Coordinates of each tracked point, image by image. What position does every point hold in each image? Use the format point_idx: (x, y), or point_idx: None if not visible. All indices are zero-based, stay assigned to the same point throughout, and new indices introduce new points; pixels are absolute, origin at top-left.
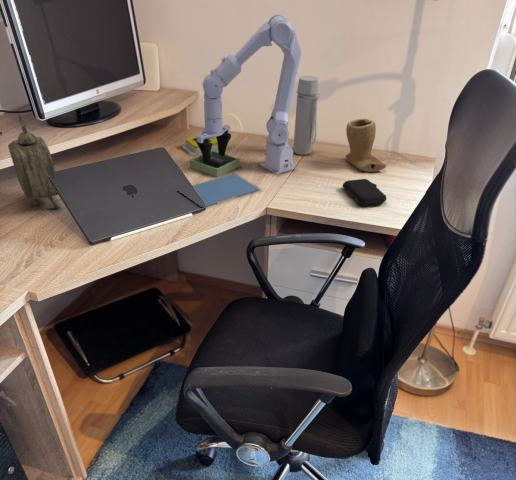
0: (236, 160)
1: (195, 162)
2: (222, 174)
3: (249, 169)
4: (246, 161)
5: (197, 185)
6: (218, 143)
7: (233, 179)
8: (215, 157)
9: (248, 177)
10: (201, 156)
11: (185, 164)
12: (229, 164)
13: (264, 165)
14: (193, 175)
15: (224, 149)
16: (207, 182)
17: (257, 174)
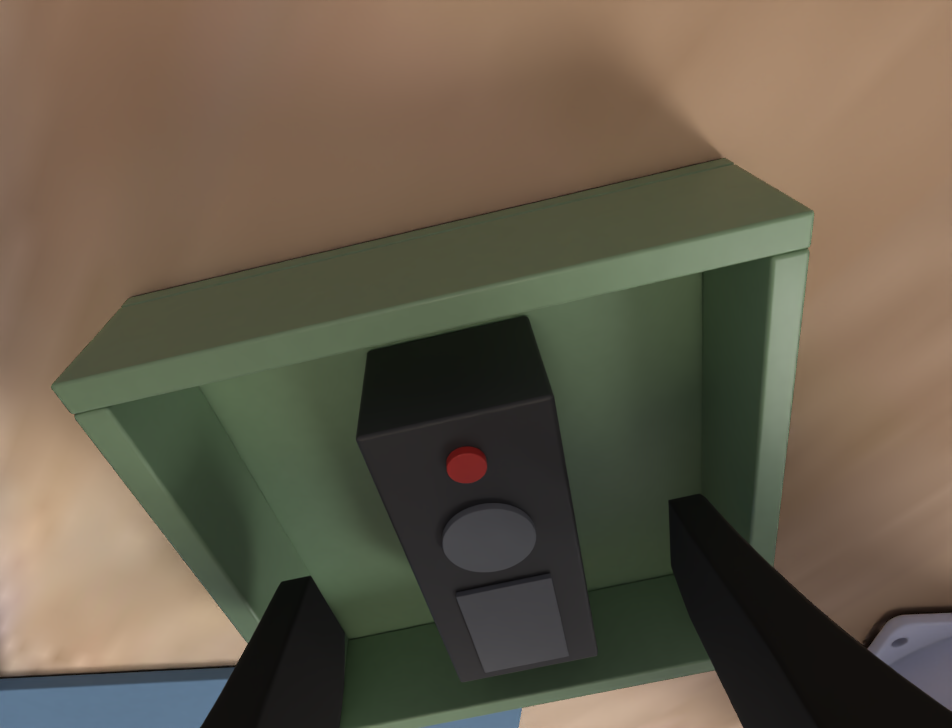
0: (702, 671)
1: (143, 492)
2: (424, 633)
3: None
4: (923, 487)
5: (45, 701)
6: (782, 692)
7: (443, 724)
8: (546, 538)
9: (596, 710)
10: (391, 336)
11: (95, 75)
12: (558, 689)
13: (890, 659)
14: (96, 496)
15: (727, 692)
16: (178, 691)
17: (700, 700)
